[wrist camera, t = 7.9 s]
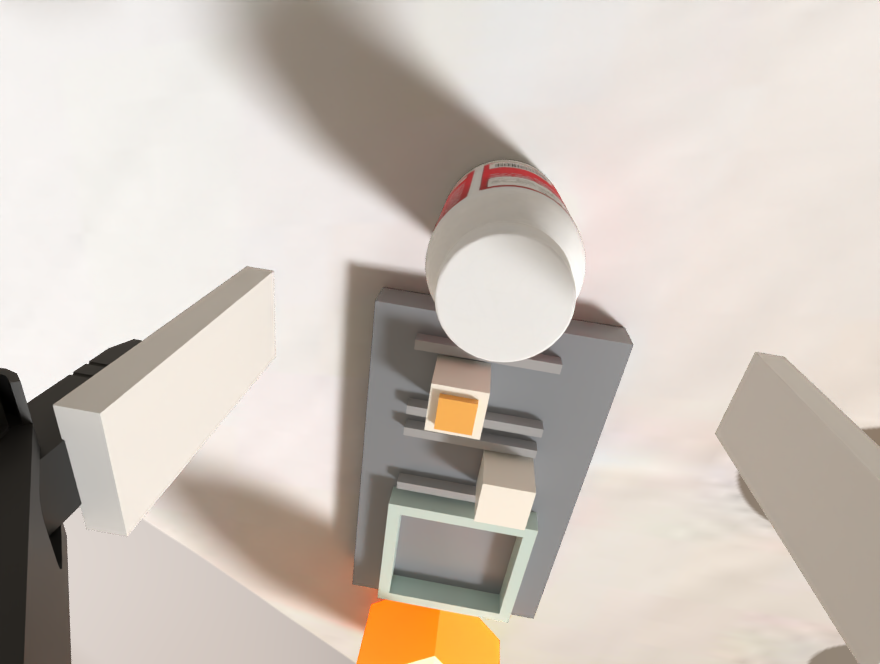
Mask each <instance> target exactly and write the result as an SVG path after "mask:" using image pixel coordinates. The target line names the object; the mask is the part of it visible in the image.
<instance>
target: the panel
mask: <svg viewBox="0 0 880 664" xmlns="http://www.w3.org/2000/svg"><path fill="white" fill-rule="evenodd" d="M632 347H633V343H632V341H631V339H630V337H629V335H628V333H627V331H626V329H625V328H621V327H616V326H610V325H604V324H598V323H592V322H586V321H580V320H574V319H571V321H570V323H569V325H568V327H567V328H566V330H565V332H564V333H563V334H562V336H561V337H560V338H559V339H558V340H557V341H556V342H555V343H554V344H553V345H551V346H550V347H549V348H547V349H546V350H544V351H543V352H541V353H539V354H537V355H535V356H533V357H530V358H527V359H524V360H520V361H514V362H494V361H488V360H484V359H481V358H477V357H475V356H473V355H471V354H469V353H467V352H465V351H464V350H462V349H461V348H460V347H458V346H457V345H456V344H455V343H454V342H453V341H452V340H451V339H450V338H449V337H448V336H447V334H446V333H445V331H444V330H443V328H442V326H441V324H440V322H439V320H438V316H437V313H436V308H435V302H434V300H433V298H432V296H431V295H426V294H420V293H414V292H408V291H402V290H397V289H391V288H385V287H383V288H382V290H381V292H380V294H379V295H378V297H377V299H376V301H375V311H374V324H373V336H372V349H371V361H370V373H369V386H368V398H367V410H366V423H365V435H364V448H363V460H362V472H361V485H360V497H359V510H358V522H357V534H356V547H355V559H354V571H353V584H354V585H360V586H365V587H370V588H375V589H378V597H377V598H381V599H386V600H391V601H396V602H402V603H407V604H412V605H417V606H423V607H428V608H433V609H438V610H443V611H449V612H454V613H459V614H464V615H470V616H475V617H480V618H485V619H491V620H496V621H501V622H506V623H508V622H509V619H510V615H511V614H512V615H517V616H522V617H527V618H534V616H535V613H536V610H537V608H538V605H539V602H540V599H541V597H542V594H543V591H544V588H545V586H546V583H547V580H548V577H549V575H550V572H551V569H552V566H553V564H554V561H555V558H556V555H557V553H558V550H559V547H560V545H561V542H562V539H563V536H564V534H565V531H566V528H567V525H568V523H569V520H570V517H571V514H572V512H573V509H574V506H575V503H576V501H577V498H578V495H579V492H580V490H581V487H582V484H583V482H584V479H585V476H586V473H587V471H588V468H589V465H590V462H591V460H592V457H593V454H594V451H595V449H596V446H597V443H598V440H599V438H600V435H601V432H602V429H603V427H604V424H605V421H606V419H607V416H608V413H609V410H610V408H611V405H612V402H613V399H614V397H615V394H616V391H617V388H618V386H619V383H620V380H621V377H622V375H623V372H624V369H625V366H626V364H627V361H628V358H629V356H630V353H631V350H632ZM438 354H440V355H446V356H451V357H457V358H463V359H469V360H474V361H480V362H486V363H491V380H490V396H489V401H488V405H487V410H486V414H485V419H484V423H483V428H482V432H481V437H480V440H478V439H472V438H467V437H461V436H455V435H450V434H444V433H439V432H433V431H427V430H424V428H425V422H426V415H427V409H428V402H429V396H430V389H431V383H432V378H433V374H434V370H435V365H436V361H437V356H438ZM484 450H490V451H495V452H501V453H507V454H512V455H518V456H523V457H529V458H533V462H534V474H535V486H536V495H535V499H534V502H533V505H532V508H531V512H530V515H529V518H528V521H527V525H526V528H525V530H519V529H514V528H508V527H503V526H498V525H492V524H487V523H481V522H476V521H474V513H475V497H476V483H477V479H478V474H479V470H480V466H481V461H482V457H483V453H484Z"/></svg>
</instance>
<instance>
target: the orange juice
mask: <svg viewBox="0 0 880 664" xmlns="http://www.w3.org/2000/svg"><path fill="white" fill-rule="evenodd" d="M357 664H500V640H499V639H498V638H497V637H496V636H495V635H494V634H493V632H492V631H491V630H490V629H489V628H488V627H487V626H486V625H485V624H484V623H483V622H482V620H481V619H480V618H479V617H475V616H470V615H464V614H459V613H454V612H449V611H443V610H438V609H433V608H428V607H423V606H417V605H412V604H407V603H402V602H396V601H391V600H383V601H380V602H377V603H374V604H371V607H370V611H369V615H368V619H367V623H366V627H365V631H364V635H363V639H362V643H361V648H360V652H359V656H358V660H357Z"/></svg>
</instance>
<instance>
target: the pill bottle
mask: <svg viewBox="0 0 880 664" xmlns="http://www.w3.org/2000/svg"><path fill="white" fill-rule="evenodd" d="M585 268H586V258H585V250H584V246H583V242H582V239H581V236H580V233H579V231H578V228H577V226H576V224H575V223H574V221H573V219H572V217H571V216H570V214H569V212H568V210H567V208H566V206H565V204H564V203H563V201H562V199H561V197H560V195H559V194H558V192H557V190H556V189H555V187H554V185H553V184H552V183H551V182H550V180H549V179H548V178H547V177H546V176H545V175H544V174H543V173H541V172H540V171H539V170H537V169H536V168H534V167H532V166H530V165H528V164H525V163H522V162H519V161H514V160H497V161H491V162H488V163H485V164H482V165H480V166H477V167H475V168H474V169H472V170H470V171H469V172H468V173H467V174H465V175H464V176H463V177H462V178H461V179H460V180H459V181H458V182H457V183H456V185H455V186H454V188H453V189H452V190H451V192H450V194H449V196H448V198H447V200H446V202H445V205H444V207H443V210H442V212H441V214H440V217H439V219H438V221H437V223H436V225H435V228H434V230H433V233H432V236H431V239H430V242H429V245H428V249H427V254H426V262H425V272H426V279H427V285H428V288H429V291H430V294H431V296H432V298H433V300H434V302H435V308H436V313H437V316H438V320H439V322H440V324H441V326H442V328H443V330H444V331H445V333H446V334H447V336H448V337H449V338H450V339H451V340H452V341H453V342H454V343H455V344H456V345H457V346H458V347H460V348H461V349H462V350H464V351H465V352H467V353H469V354H471V355H473V356H475V357H477V358H481V359H484V360H488V361H494V362H514V361H520V360H524V359H527V358H530V357H533V356H535V355H537V354H539V353H541V352H543V351H544V350H546V349H547V348H549V347H550V346H551V345H553V344H554V343H555V342H556V341H557V340H558V339H559V338H560V337H561V336H562V334H563V333H564V332H565V330H566V328H567V327H568V325H569V323H570V321H571V319H572V316H573V313H574V309H575V304H576V299H577V297H578V295H579V293H580V290H581V288H582V284H583V281H584V277H585Z"/></svg>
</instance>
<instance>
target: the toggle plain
mask: <svg viewBox="0 0 880 664" xmlns="http://www.w3.org/2000/svg"><path fill="white" fill-rule="evenodd" d="M535 495H536V486H535V474H534V462H533V458H529V457H523V456H518V455H512V454H507V453H501V452H495V451H490V450H484V453H483V457H482V461H481V466H480V470H479V474H478V479H477V483H476V497H475V513H474V521H476V522H481V523H487V524H492V525H498V526H503V527H508V528H514V529H519V530H525V528H526V525H527V521H528V518H529V515H530V512H531V508H532V505H533V502H534V499H535Z"/></svg>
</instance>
